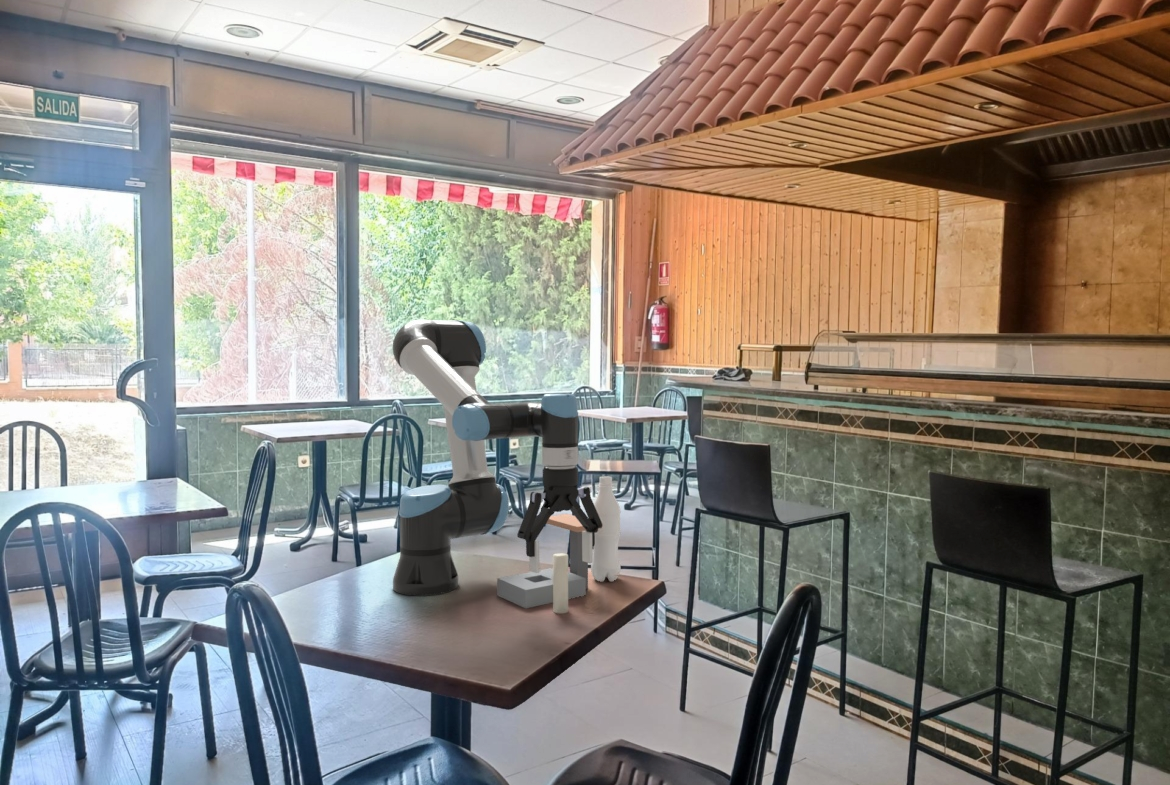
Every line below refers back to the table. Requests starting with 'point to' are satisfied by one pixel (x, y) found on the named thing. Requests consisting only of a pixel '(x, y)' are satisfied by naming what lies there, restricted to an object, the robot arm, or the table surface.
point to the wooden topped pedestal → (573, 542)
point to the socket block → (536, 588)
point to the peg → (560, 583)
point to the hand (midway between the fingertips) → (561, 566)
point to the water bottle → (606, 533)
